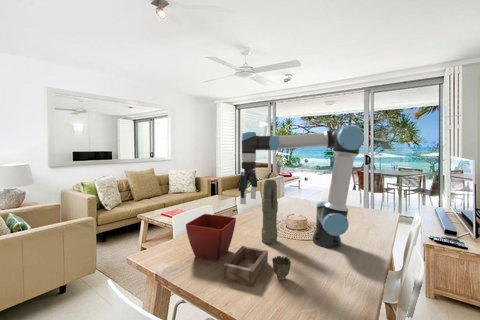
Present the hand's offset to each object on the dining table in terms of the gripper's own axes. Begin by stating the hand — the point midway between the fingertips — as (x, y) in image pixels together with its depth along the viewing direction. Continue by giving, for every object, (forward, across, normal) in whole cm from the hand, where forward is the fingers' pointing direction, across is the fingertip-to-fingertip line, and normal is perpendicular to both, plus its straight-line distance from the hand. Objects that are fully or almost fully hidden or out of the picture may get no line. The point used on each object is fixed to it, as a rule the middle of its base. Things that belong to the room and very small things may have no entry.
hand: (248, 201), depth 126 cm
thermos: (+25, -12, +8) cm, 29 cm away
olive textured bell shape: (+25, +22, +24) cm, 41 cm away
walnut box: (+25, +23, +9) cm, 35 cm away
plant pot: (+25, +16, -13) cm, 32 cm away
